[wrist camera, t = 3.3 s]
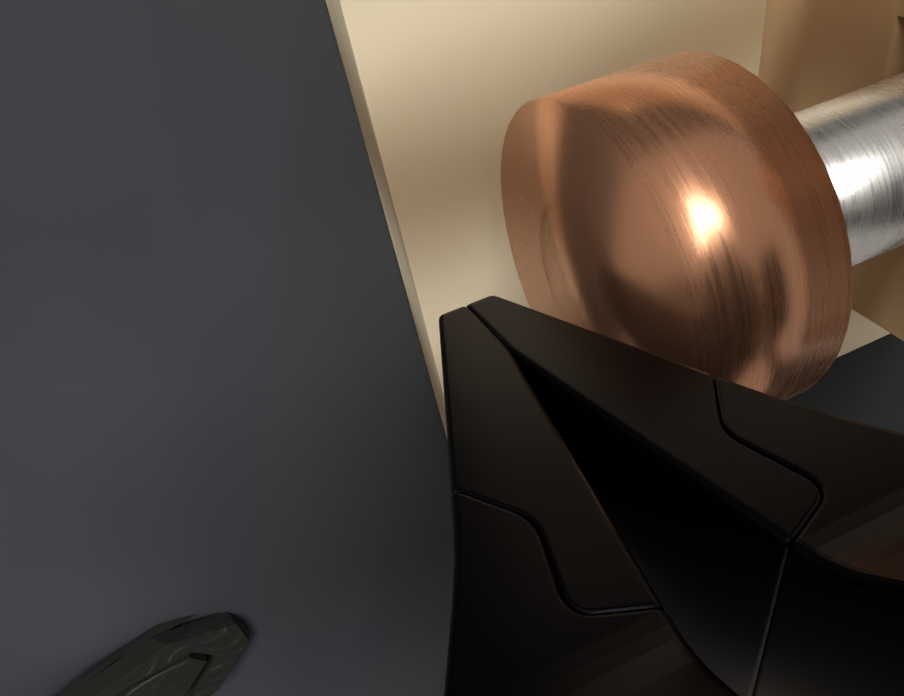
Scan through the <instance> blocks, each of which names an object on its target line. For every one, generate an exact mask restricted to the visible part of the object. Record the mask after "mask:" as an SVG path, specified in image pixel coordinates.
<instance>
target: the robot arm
mask: <svg viewBox="0 0 904 696" xmlns="http://www.w3.org/2000/svg"><path fill="white" fill-rule="evenodd" d="M439 332H440V345H441V359H442V373H443V386H444V400H445V414H446V427H447V441H448V455H449V468H450V482H451V493H452V497H451V501H452V514H453V535H454V576H453V596H452V612H451V624H450V635H449V647H448V658H447V670H446V681H445V692H444V696H904V434H901V433H897V432H894V431H890V430H886V429H883V428H879V427H875V426H872V425H868V424H865V423H861V422H857V421H854V420H850V419H846V418H843V417H839V416H836V415H833V414H829V413H826V412H822V411H819V410H816V409H812V408H809V407H806V406H802V405H799V404H795V403H792V402H789V401H786V400H783V399H780V398H777V397H774V396H771V395H768V394H765V393H762V392H760V391H757V390H754V389H751V388H748V387H745V386H742V385H739V384H737V383H734V382H731V381H728V380H726V379H723V378H720V377H717V378H715V379H714V378H713V376H712V375H711V374H709V373H706V372H703V371H700V370H698V369H695V368H692V367H689V366H687V365H684V364H681V363H678V362H676V361H673V360H670V359H667V358H665V357H662V356H659V355H656V354H654V353H651V352H648V351H645V350H643V349H640V348H637V347H634V346H632V345H629V344H626V343H624V342H621V341H618V340H615V339H613V338H610V337H607V336H604V335H602V334H599V333H596V332H593V331H591V330H588V329H585V328H582V327H580V326H577V325H574V324H571V323H569V322H566V321H563V320H560V319H558V318H555V317H552V316H549V315H547V314H544V313H541V312H538V311H536V310H533V309H530V308H527V307H525V306H522V305H519V304H516V303H514V302H511V301H508V300H505V299H503V298H500V297H497V296H488V297H486V298H483V299H481V300H478V301H476V302H473V303H470V304H468V305H467V307H460V308H458V309H455V310H452V311H450V312H447V313H445V314H442V315H441V316H440V317H439Z"/></svg>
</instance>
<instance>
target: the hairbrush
mask: <svg viewBox="0 0 904 696" xmlns="http://www.w3.org/2000/svg"><path fill="white" fill-rule="evenodd" d="M192 616H194V615H192ZM192 616H188V617H183V618H179V619H175V620H172V621H168V622H164V623H161V624H158V625H156V626H154V627H153V628H151V629H150V630H149V631H147V632H146V633H144V634H143V635H141V636H140V637H138V638H137V639H135V640H134V641H133V642H131V643H130V644H128V645H127V646H125V647H124V648H122V649H121V650H120V651H118V652H117V653H115V654H114V655H112V656H111V657H109V658H108V659H106V660H105V661H104V662H102V663H101V664H99V665H98V666H96V667H95V668H93V669H92V670H91V671H89V672H88V673H86V674H85V675H83V676H82V677H80V678H79V679H77V680H76V681H75V682H73V683H72V684H71V685H69V686H68V687H67V688H66V689H64V690H63V691H62V692H61V693H60V694H58V695H57V696H211V695H212V694H213V693H214V692H216V691H217V690H218V689H219V687H220V686H221V684H222V683H223V681H224V679H225V678H226V676H227V675H228V673H229V671H230V670H231V668H232V667H233V665H234V663H235V662H236V660H237V659H238V657H239V655H240V654H241V652H242V651H243V649H244V647H245V646H246V644H247V643H248V641H249V638H248V633H247V628H246V626H245V625H244V624H243V623H242V622H241V621H239V620H238V619H236V618H235V617H234V616H232V615H231V614H229V613H228V612H224V613H216V614H212V615H208V616H205V617H203V618H200V619H198V620H195V621H193V622H190V623H188V624H185V625H183V626H180V627H177V628H175V629H172V630H170V629H171V628H173V627H175V626H177V625H178V624H180V623H182V622H183V621H185V620H187V619H189V618H190V617H192ZM168 630H170V631H168ZM166 631H167V632H166Z"/></svg>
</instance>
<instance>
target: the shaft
mask: <svg viewBox="0 0 904 696" xmlns="http://www.w3.org/2000/svg"><path fill="white" fill-rule="evenodd" d="M501 193H502V203H503V211H504V218H505V223H506V229H507V234H508V238H509V243H510V247H511V251H512V255H513V259H514V263H515V266H516V269H517V273H518V276H519V279H520V282H521V285H522V288H523V291H524V294H525V296H526V299H527V302H528V304H529V307H530V309H533V310H536V311H538V312H541V313H544V314H547V315H549V316H552V317H555V318H558V319H560V320H563V321H566V322H569V323H571V324H574V325H577V326H580V327H582V328H585V329H588V330H591V331H593V332H596V333H599V334H602V335H604V336H607V337H610V338H613V339H615V340H618V341H621V342H624V343H626V344H629V345H632V346H634V347H637V348H640V349H643V350H645V351H648V352H651V353H654V354H656V355H659V356H662V357H665V358H667V359H670V360H673V361H676V362H678V363H681V364H684V365H687V366H689V367H692V368H695V369H698V370H700V371H703V372H706V373H709V374H711V375H712V376H713V378H714V379H715V378H717V377H720V378H723V379H726V380H728V381H731V382H734V383H737V384H739V385H742V386H745V387H748V388H751V389H754V390H757V391H760V392H762V393H765V394H768V395H771V396H774V397H777V398H780V399H783V400H787V399H789V398H791V397H794V396H796V395H798V394H800V393H802V392H804V391H807V390H808V389H809V388H811V387H812V386H813V385H815V384H816V383H817V382H818V381H820V380H821V378H822V377H823V376H824V375H825V374H826V372H827V371H828V370H829V369H830V368H831V366H832V364H833V363H834V361H835V359H836V357H837V355H838V354H839V352H840V350H841V347H842V344H843V341H844V338H845V335H846V332H847V329H848V324H849V318H850V313H851V308H852V290H853V273H852V266H854V265H857V264H859V263H861V262H864V261H866V260H868V259H871V258H873V257H876V256H878V255H880V254H883V253H885V252H887V251H890V250H892V249H894V248H897V247H899V246H901V245H904V73H901V74H898V75H896V76H893V77H890V78H887V79H885V80H882V81H879V82H877V83H874V84H871V85H868V86H866V87H863V88H860V89H858V90H855V91H852V92H849V93H847V94H844V95H841V96H839V97H836V98H833V99H830V100H828V101H825V102H822V103H819V104H817V105H814V106H811V107H809V108H806V109H803V110H800V111H798V112H795V113H793V112H792V111H791V110H790V109H789V107H788V106H787V105H786V104H785V103H784V102H783V101H782V99H781V98H780V97H779V96H778V95H777V94H776V93H775V92H774V91H773V90H772V89H771V88H770V87H769V86H767V85H766V84H765V83H764V82H763V81H762V80H761V79H759V78H758V77H757V76H756V75H754V74H753V73H751V72H750V71H748V70H747V69H745V68H743V67H742V66H740V65H739V64H737V63H735V62H733V61H730V60H728V59H726V58H724V57H721V56H719V55H715V54H711V53H706V52H702V51H681V52H677V53H672V54H668V55H665V56H662V57H659V58H656V59H653V60H650V61H647V62H644V63H641V64H638V65H635V66H632V67H629V68H626V69H623V70H620V71H617V72H614V73H611V74H608V75H605V76H602V77H599V78H596V79H593V80H590V81H587V82H584V83H581V84H578V85H575V86H572V87H569V88H566V89H563V90H560V91H557V92H554V93H551V94H548V95H545V96H543V97H540V98H537V99H534V100H531V101H529V102H527V103H526V104H524V105H522V106H521V107H520V108H519V109H518V110H517V111H516V112H515V114H514V116H513V118H512V119H511V121H510V123H509V126H508V128H507V131H506V134H505V138H504V143H503V148H502V157H501Z"/></svg>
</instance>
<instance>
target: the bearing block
mask: <svg viewBox="0 0 904 696" xmlns="http://www.w3.org/2000/svg"><path fill="white" fill-rule="evenodd" d="M326 4H327V7H328V11H329V15H330V18H331V22H332V25H333V29H334V33H335V36H336V40H337V43H338V47H339V51H340V54H341V58H342V62H343V65H344V69H345V72H346V76H347V80H348V83H349V87H350V90H351V94H352V98H353V101H354V105H355V108H356V112H357V116H358V119H359V123H360V127H361V130H362V134H363V137H364V141H365V145H366V148H367V152H368V155H369V159H370V163H371V166H372V170H373V173H374V177H375V181H376V184H377V188H378V191H379V195H380V199H381V202H382V206H383V210H384V213H385V217H386V220H387V224H388V228H389V231H390V235H391V238H392V242H393V246H394V249H395V253H396V256H397V260H398V264H399V267H400V271H401V275H402V278H403V282H404V285H405V289H406V293H407V296H408V300H409V303H410V307H411V311H412V314H413V318H414V321H415V325H416V329H417V332H418V336H419V339H420V343H421V347H422V350H423V354H424V358H425V361H426V365H427V368H428V372H429V376H430V379H431V383H432V386H433V390H434V394H435V397H436V401H437V404H438V408H439V412H440V415H441V419H442V423H443V426H444V430H445V433H446V437H447V427H446V414H445V400H444V386H443V373H442V359H441V345H440V332H439V317H440V316H441V315H442V314H445V313H447V312H450V311H452V310H455V309H458V308H460V307H467V305H468V304H470V303H473V302H476V301H478V300H481V299H483V298H486V297H488V296H497V297H500V298H503V299H505V300H508V301H511V302H514V303H516V304H519V305H522V306H525V307H527V308H530V307H529V304H528V302H527V299H526V296H525V294H524V291H523V288H522V285H521V282H520V279H519V276H518V273H517V269H516V266H515V263H514V259H513V255H512V251H511V247H510V243H509V238H508V234H507V229H506V223H505V218H504V211H503V203H502V193H501V157H502V148H503V143H504V138H505V134H506V131H507V128H508V126H509V123H510V121H511V119H512V118H513V116H514V114H515V112H516V111H517V110H518V109H519V108H520V107H521V106H522V105H524V104H526V103H527V102H529V101H531V100H534V99H537V98H540V97H543V96H545V95H548V94H551V93H554V92H557V91H560V90H563V89H566V88H569V87H572V86H575V85H578V84H581V83H584V82H587V81H590V80H593V79H596V78H599V77H602V76H605V75H608V74H611V73H614V72H617V71H620V70H623V69H626V68H629V67H632V66H635V65H638V64H641V63H644V62H647V61H650V60H653V59H656V58H659V57H662V56H665V55H668V54H672V53H677V52H681V51H702V52H706V53H711V54H715V55H719V56H721V57H724V58H726V59H728V60H730V61H733V62H735V63H737V64H739V65H740V66H742V67H743V68H745V69H747V70H748V71H750V72H751V73H753V74H754V75H756V76H757V77H758V78H759V79H761V80H762V81H763V82H764V83H765V84H766V85H767V86H769V87H770V88H771V89H772V90H773V91H774V92H775V93H776V94H777V95H778V96H779V97H780V98H781V99H782V101H783V102H784V103H785V104H786V105H787V106H788V107H789V109H790V110H791V111H792V112H793V113H795V112H798V111H800V110H803V109H806V108H809V107H811V106H814V105H817V104H819V103H822V102H825V101H828V100H830V99H833V98H836V97H839V96H841V95H844V94H847V93H849V92H852V91H855V90H858V89H860V88H863V87H866V86H868V85H871V84H874V83H877V82H879V81H882V80H885V79H887V78H890V77H893V76H896V75H898V74H901V73H904V0H326ZM852 273H853V290H852V308H851V313H850V318H849V324H848V329H847V332H846V335H845V338H844V341H843V344H842V347H841V350H840V352H839V354H838V355H837V357H839V356H842V355H844V354H846V353H848V352H851V351H853V350H855V349H857V348H859V347H862V346H864V345H866V344H868V343H871V342H873V341H875V340H877V339H879V338H882V337H884V336H886V335H888V334H890V333H891V334H893V335H894V336H896V337H898V338H899V339H901V340H902V341H904V245H901V246H899V247H897V248H894V249H892V250H890V251H887V252H885V253H883V254H880V255H878V256H876V257H873V258H871V259H868V260H866V261H864V262H861V263H859V264H857V265H854V266H852ZM837 357H836V358H837Z"/></svg>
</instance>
